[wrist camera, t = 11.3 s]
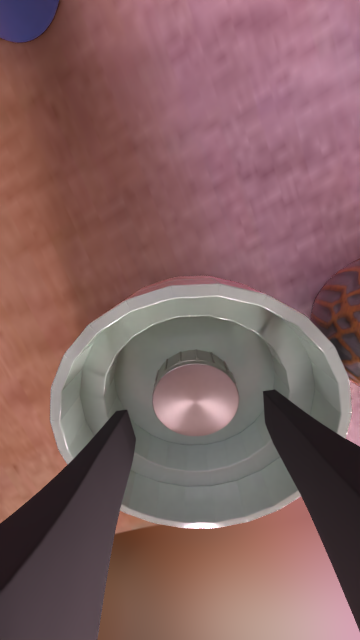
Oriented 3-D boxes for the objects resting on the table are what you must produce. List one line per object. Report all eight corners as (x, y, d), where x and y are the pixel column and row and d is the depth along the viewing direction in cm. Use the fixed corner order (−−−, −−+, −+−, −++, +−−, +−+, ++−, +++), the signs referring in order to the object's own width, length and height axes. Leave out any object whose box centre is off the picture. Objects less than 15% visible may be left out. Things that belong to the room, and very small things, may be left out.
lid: (235, 410, 14) (243, 431, 12) (163, 419, 14) (160, 441, 12) (228, 343, 12) (236, 356, 11) (148, 355, 13) (142, 370, 11)
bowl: (84, 437, 15) (46, 506, 11) (103, 250, 11) (54, 246, 7) (257, 468, 16) (284, 544, 12) (333, 303, 12) (415, 327, 8)
